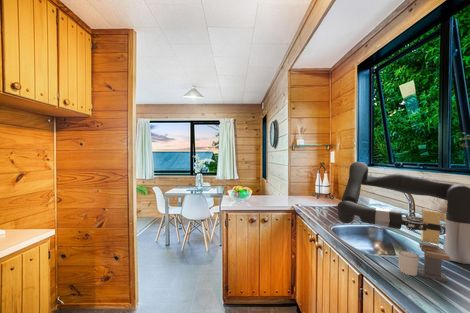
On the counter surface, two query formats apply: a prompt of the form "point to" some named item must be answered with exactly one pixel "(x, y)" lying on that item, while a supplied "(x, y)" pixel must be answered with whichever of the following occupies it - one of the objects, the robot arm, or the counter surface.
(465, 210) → the robot arm
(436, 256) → the beam
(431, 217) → the block
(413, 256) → the beige short cylinder
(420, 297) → the counter surface
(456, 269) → the counter surface
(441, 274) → the beam stand
